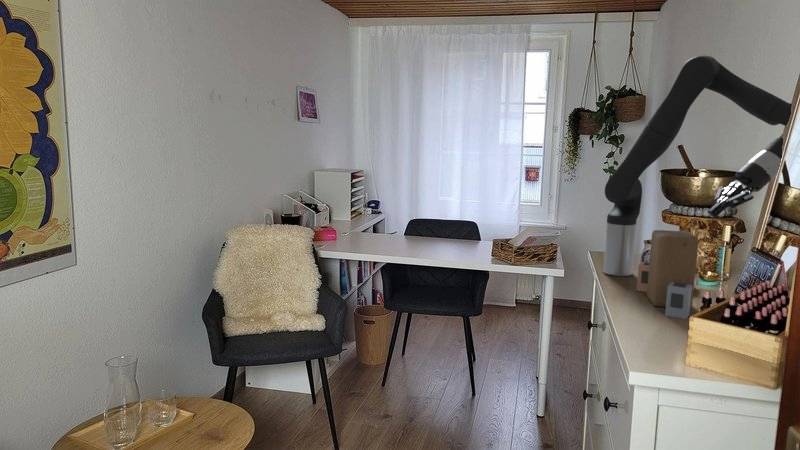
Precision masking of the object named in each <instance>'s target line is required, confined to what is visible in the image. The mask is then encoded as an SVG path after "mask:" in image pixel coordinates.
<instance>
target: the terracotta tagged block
mask: <svg viewBox="0 0 800 450" xmlns="http://www.w3.org/2000/svg"><path fill="white" fill-rule="evenodd" d="M649 263H650V261H649V262H647V261H642V262H641V263H639V264H638V268H637V279H636V280H637V281H636V291H639V292H643V293H647V286H648V274H649Z"/></svg>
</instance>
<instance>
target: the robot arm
mask: <svg viewBox="0 0 800 450" xmlns="http://www.w3.org/2000/svg"><path fill="white" fill-rule="evenodd" d="M705 89H706V90H710V91H712V92H715V93H718V94H720V95H721V96H723V97H725V98H727V99H729V100H730V101H731V102H733V103H734V104H736V105H737V106H738V107H739V108H741V109H742V110H744V111H745V112H747V113H748V114H749V115H751V116H753V117H755V118H757V119H758V120H760V121H762V122H764V123H766V124H768V125H769V126H777V125H782V126H785V127H787V126H786V125H787V123H788V121H789V118H790V115H791V106H792V104H793V103H790V102H788V101H786V100H784V99H782V98H780V97H778V96H776V95H774V94H773V93H770V92H768V91H767V90H765V89H763V88H761V87H758V86H756V85H755V84H752V83H750V82H748V81H747V80H745V79H742V78H741V77H740V76H737V75H736V74H734V72H732V71H731V70H729V69H728V68H726V67H725V66H724V65H722V64H721V63H720V62H719V61H718V60H717V59H715V58H714V57H712V56H709V55H697V56H693V57H691V58H689V59H688V60H686V61H685V62H684V64H683V65H682V67H681V69H680V71H679V73H678V75H677V77H676V78H675V81H674V83H673V85H672V87H671V89H670V90H669V92H668V93H667V95H666V97H665V99H663V101H662V102H661V104H660V105H659V106H658V108H657V109H656V111H655V112H654V114H653V115H651V118H650V119H649V120H648V122H647V124H645V126H644V128H643V129H642V131H641V132H640V135H639V136H638V138H637V139H636V141H635V143H634V144H633V145H632V147H631V149H630V150H629V152H628V153H627V155H626V157H625V158H624V159H623V161H622V162H621V164H620V165H619V167H617V169H616V170H615V171H614V172H613V174H612V175H611V176H610V177H609V179H608V180H607V181H606V184H605V187H604V195H605V197H606V199H607V200H608V202H609V203H613V204H614V205H613V208H612V209H611V210H610V212H608V214H607V217H606V228H605V242H604V243H605V244H604V245H605V246H604V255H603V256H604V259H603V267H602V268H603V269H602V270H603V271H602V272H603V273H604V274H606V275H609V276H610V275H611V276H617V277H629V276H632V275H633V268H634V267H633V266H634V254H635V244H636V234H637V233H636V231H637V220H638V218H639V216H640V213H641V206H642V205H641V204H642V198H643V186H642V182H641V180H640V179H639V178H640V177H641V176H642V174H643V173H644V172H645V171H646V170H647V169H648V168H649V167H650V166H651V165H652V164H653V163H654V162H655V161H657V160H658V159H659V158H660V157H661V156H662V155H664V153H666V151H667V150H668V148H669V147H670V146H671V144H672V143H673V141H674V140H675V139H676V137H677V135H678V134H679V132H680V130H681V129H682V126H683V124H684V121H685V119H686V116H687V114H688V111H689V109H690V108H691V106H692V105H693V104H694V103H695V101H696V99H697V98H698V97H699V96H700V94H701V93H703V91H704V90H705ZM782 136H783V133H782V134H781V135H780V136H779V137H777V138H775V139H773V140H772V141H771V142H770V143H768V144H767V145H766V146H765V147H764V148H763V149H762V150H760V151H759V152H758V153H757V154H756V155H754V156H752V157H751V159H749V160H747V162H746V163H745V164H744V165H743V166H742V167H741V168H739V169H738V170H737V171H736V172H735V180H733V181H731V182H730V183H729V184H728V185H727V186H726V187H724V185H721V186H719V187H718V189H717V191H716V195H715V197H714V200H715V201H716V203H715V204H714V205H712V207H711V208H709V210H707V213H708V214H709V216H710V217H713V218H717V217H718V216H719V215H720V214H722V212H724V210H727V209H729V208H730V209H734V208H736V207H739V206H740V205H743V204H745V203H748V202H750V201H752V200H753V199H754V195H753V194H752V193H757V192H760V191H761V190H762V189H763V188H764V187H766V186H767V185H768V184H769V183H770V182H771V181H772V180H773V179H774V178H775V177H776V176H778V174H779V173H778V170H779V167H780V163H781V158H782V145H783V138H782ZM777 173H778V174H777Z"/></svg>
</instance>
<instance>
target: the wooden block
mask: <svg viewBox="0 0 800 450" xmlns="http://www.w3.org/2000/svg"><path fill="white" fill-rule="evenodd" d="M650 240H651V242H650V251H649V252H650V253H649V274H648V286H647V292H646V297H647V298H648V300H649V301H650V302H651V304H652V305H653V306H655V307H662V308H666V299H667V288H668V285H669V284H670V283H671V282H676V283H682V284H688V285H692V292H691V302H690V309H691V308H692V306H693V299H694V290H695V287H694V281H695V280H696V269H697V259H698V251H699V238H698V237H697V236H696V235H693V234H692V233H691V232H689V231H682V230H680V231H679V230H662V229H656V230H653V231H652V232H651V239H650Z"/></svg>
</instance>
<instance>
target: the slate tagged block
mask: <svg viewBox="0 0 800 450" xmlns="http://www.w3.org/2000/svg"><path fill="white" fill-rule="evenodd" d="M691 292H692V285H688V284H682V283H676V282H671V283H670V284H669V285H668V288H667V299H666V307H665V312H664V313H665V314H664V316H667V317H671V318H676V319H683V320H686V319H688V318H689V316H690V311H691V308H690V302H691Z"/></svg>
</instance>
